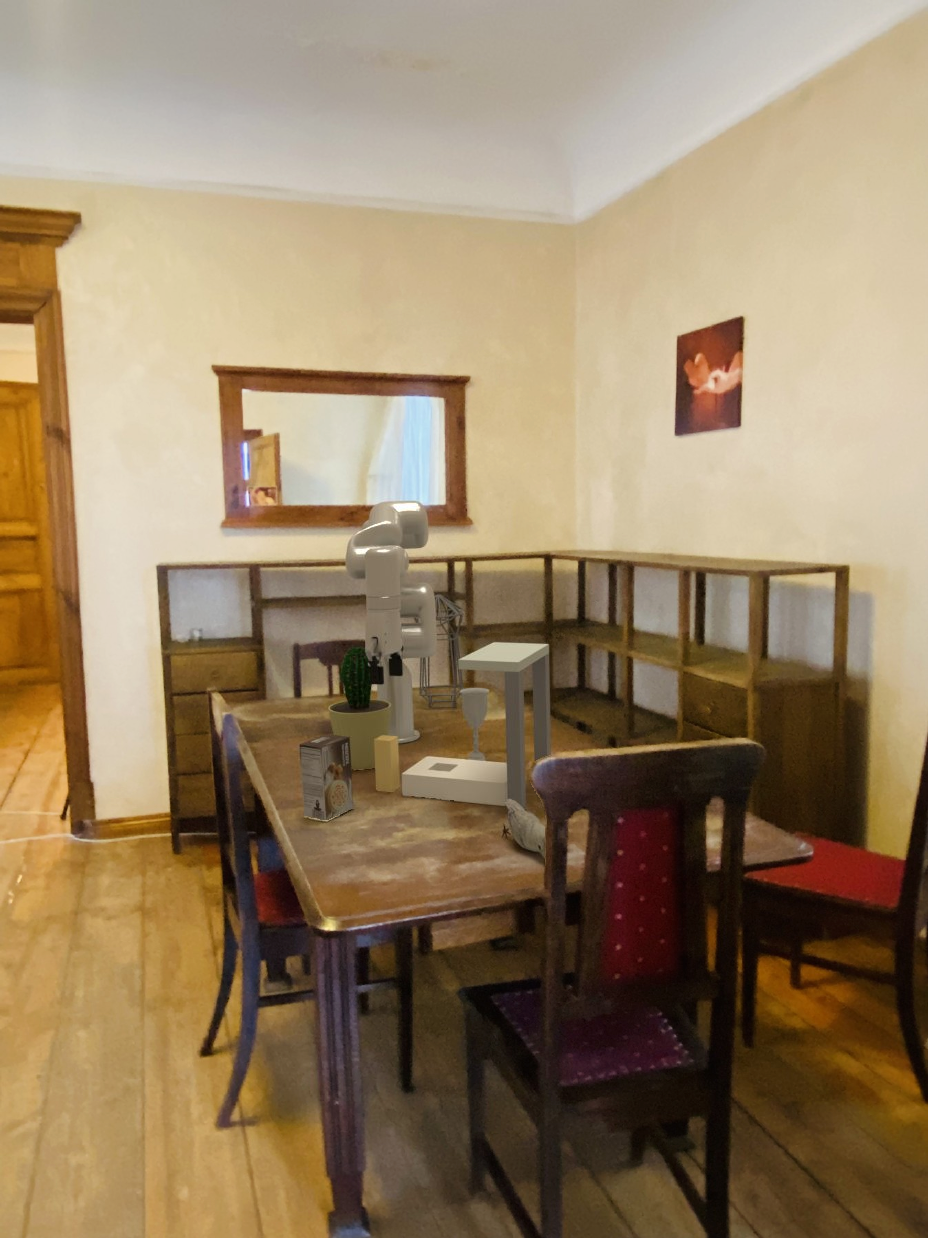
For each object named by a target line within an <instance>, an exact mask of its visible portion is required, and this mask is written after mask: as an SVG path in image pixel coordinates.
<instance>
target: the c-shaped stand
mask: <svg viewBox="0 0 928 1238" xmlns="http://www.w3.org/2000/svg"><path fill="white" fill-rule="evenodd" d="M458 659H459V658H458ZM458 663H459V669H461V670H464V671H465V670H468V671H470V670H471V671H488V672H490V671H493V672H504V704H505V705H504V706H505V743H506V745H505V746H506V749H505V751H506V763H507V794H508V799H512V800H515V801H516V802H517V803H519V804H520V805H521V806H522V808H523V809H526V810H527V793H526V792H527V791H526V789H527V784H526V782H527V781H526V744H525V743H526V741H525V740H526V739H525V738H526V737H525V736H526V735H525V699H524V698H525V697H524V692H525V690H524V688H525V687H524V669H526V668H527V667H529V666H530V665H532V668H531V669H532V704H533V705H532V706H533V707H532V709H533V712H532V713H533V755H534V757H533V758H534V759H533V760H534V761H536V760H538V759H540V758H542V757H545V756H549V755H551V756H552V751H551V750H552V742H551V739H552V737H551V736H552V735H551V692H550V690H551V689H550V688H551V687H550V686H551V684H550V683H551V680H550V679H551V678H550V644H549V643H527V642H502V641H501V642H499V641H498V642H497V641H494V642H492V643H490V644H488V645H485V646H483V647H481V648H480V649H477V650H476V651H473V652H470V653H469V654H467V655H465V656H463V657H460V659H459V660H458ZM509 811H510V810H509V809H508V808H507V813H508V812H509Z"/></svg>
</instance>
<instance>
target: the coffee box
mask: <svg viewBox="0 0 928 1238" xmlns="http://www.w3.org/2000/svg"><path fill="white" fill-rule="evenodd" d="M299 759H300V771H301V773H300V774H301V785H302V787H301V788H302V800H303V803H302V804H303V817H304V816H308V817H311V818H317V819H320V820H329V819H331V818H333V817H335V816H338V815H339V814H341V813H344V812H345V811H348V810H350V809H353V808H354V806H355V805H354V790H353V789H354V788H353V774H352V773H353V770H352V768H351V752H350V737H346V736H339V735H334V734H328V733H326V734H324V735H321V736H319V737H315V738H313V739H310V740H307V741H305V742H301V743H299ZM353 810H354V809H353Z"/></svg>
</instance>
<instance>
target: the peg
mask: <svg viewBox="0 0 928 1238" xmlns="http://www.w3.org/2000/svg"><path fill="white" fill-rule="evenodd" d="M374 750H375V769H374V771H375V773H374V774H375V791H376V790H378V791H388V792H393V791H394V792H396V791H397V790H399V789H400V788H401V781H400V780H401V779H400V757H399V756H400V755H399V754H400V753H399V743H398V736H387V735H381V736H380V737H378V738H376V739H374ZM399 787H400V788H399ZM398 788H399V789H398ZM396 789H397V790H396ZM395 790H396V791H395ZM394 792H393V793H394Z"/></svg>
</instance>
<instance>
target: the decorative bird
mask: <svg viewBox="0 0 928 1238" xmlns="http://www.w3.org/2000/svg"><path fill="white" fill-rule="evenodd" d="M505 804H506V808H507V810H508V809H509V810H510V811H509V812H508V811H507V822H508V827H507V828H506V824H505V823H504V822H503V829H502V836H501V838H503V837H504V836H505V839H507V838H508V836H507V835H509V836H511V835H512V837H513V839H515V840H514V841H516V843H517V844H518V845H519V846H520V847H521V848H523V849H525V850H528V851H531V852H534V853H540V854H541V855H542V857H543V859H545V827H546V826H545V825H544V824H542V822H541V820H540V818H539V817H538V816H536V814H535V813H534V812H532V811H530V810H528V809H527V808H526V809H523V808H522V806H521V805H520V804H519V803H517V802H516V801H515V800H512V799H507V801H506V802H505ZM509 830H510V832H509Z"/></svg>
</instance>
